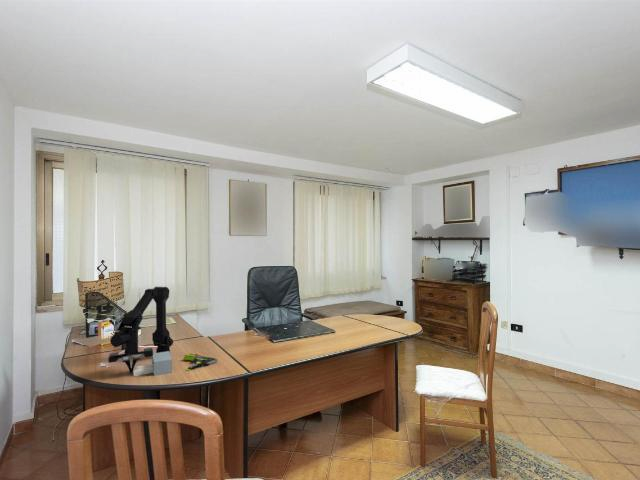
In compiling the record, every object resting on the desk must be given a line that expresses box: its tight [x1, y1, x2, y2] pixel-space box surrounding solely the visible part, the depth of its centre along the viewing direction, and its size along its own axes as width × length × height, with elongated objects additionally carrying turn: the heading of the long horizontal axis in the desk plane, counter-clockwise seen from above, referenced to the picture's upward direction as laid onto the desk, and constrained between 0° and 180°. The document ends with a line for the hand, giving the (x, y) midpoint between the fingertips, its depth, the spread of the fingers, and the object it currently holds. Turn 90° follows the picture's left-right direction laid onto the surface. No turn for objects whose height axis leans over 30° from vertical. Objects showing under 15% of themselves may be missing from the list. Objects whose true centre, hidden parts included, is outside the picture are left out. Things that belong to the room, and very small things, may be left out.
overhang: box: [151, 351, 173, 376], centre depth 169 cm, size 8×14×6 cm, turn 30°
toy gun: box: [183, 353, 218, 372], centre depth 175 cm, size 20×4×15 cm
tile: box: [132, 363, 154, 377], centre depth 167 cm, size 14×7×2 cm, turn 124°
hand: (131, 372), depth 162 cm, fingers closed
